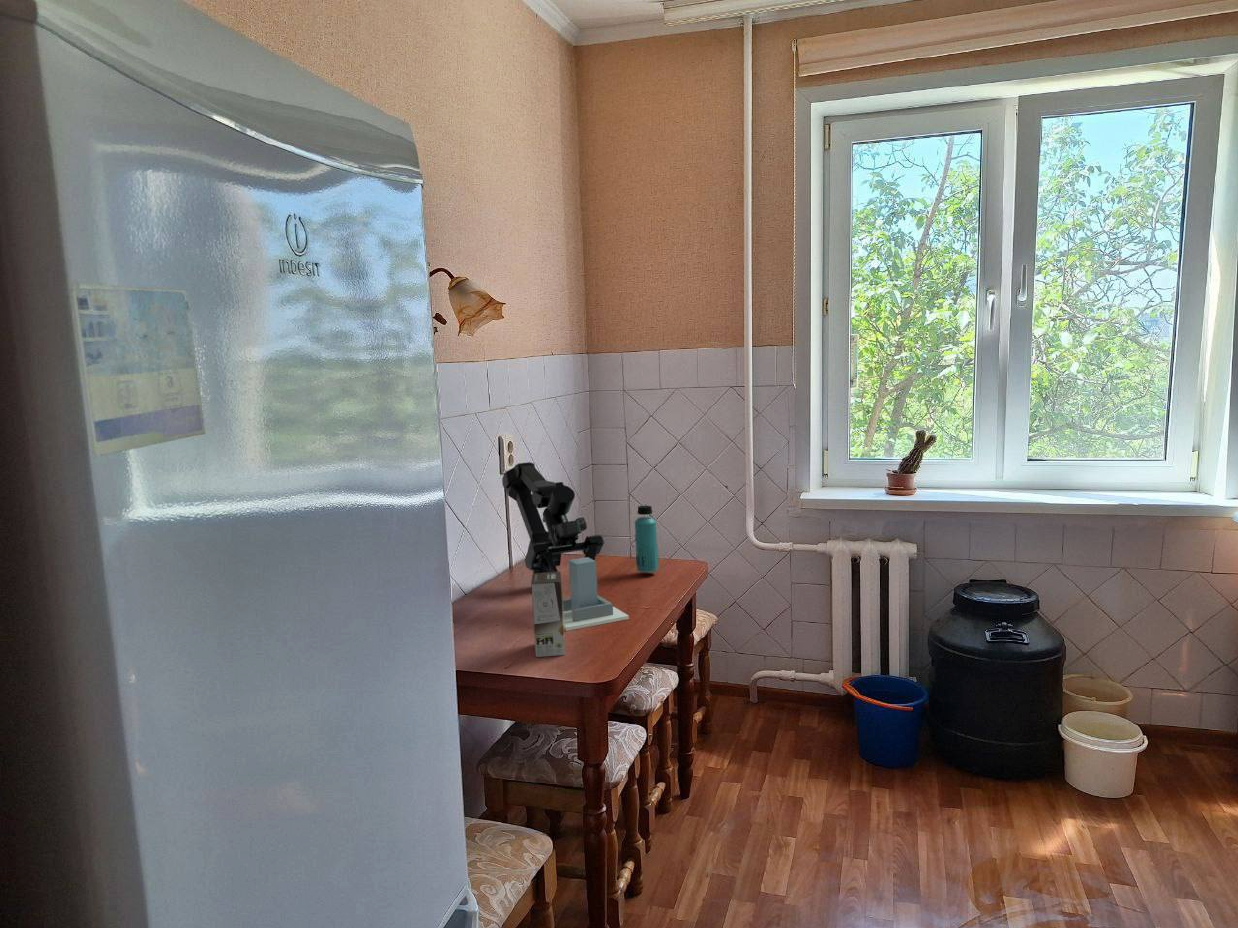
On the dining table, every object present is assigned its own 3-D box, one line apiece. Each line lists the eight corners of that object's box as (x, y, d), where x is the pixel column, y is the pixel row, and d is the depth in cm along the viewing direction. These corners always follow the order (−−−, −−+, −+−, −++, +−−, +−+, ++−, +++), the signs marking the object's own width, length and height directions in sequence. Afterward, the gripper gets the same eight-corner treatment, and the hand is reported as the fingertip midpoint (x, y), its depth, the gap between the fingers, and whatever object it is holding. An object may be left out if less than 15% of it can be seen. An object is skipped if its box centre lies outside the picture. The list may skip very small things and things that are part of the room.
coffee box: (565, 655, 175) (561, 581, 173) (535, 657, 174) (530, 583, 172) (564, 641, 184) (560, 570, 182) (536, 643, 183) (531, 572, 181)
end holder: (542, 613, 205) (542, 599, 205) (601, 602, 212) (601, 589, 211) (566, 630, 191) (565, 616, 190) (628, 618, 197) (628, 604, 197)
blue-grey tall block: (571, 611, 202) (568, 560, 201) (590, 608, 204) (587, 557, 203) (579, 617, 198) (576, 564, 196) (598, 613, 200) (595, 561, 198)
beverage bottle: (662, 572, 239) (659, 503, 236) (655, 578, 233) (652, 508, 230) (640, 571, 241) (637, 503, 238) (633, 577, 235) (630, 507, 232)
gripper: (529, 512, 202) (547, 565, 194) (599, 503, 210) (619, 554, 202) (521, 537, 211) (538, 590, 202) (588, 528, 218) (607, 578, 210)
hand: (576, 577), depth 204 cm, fingers open, 9 cm apart
